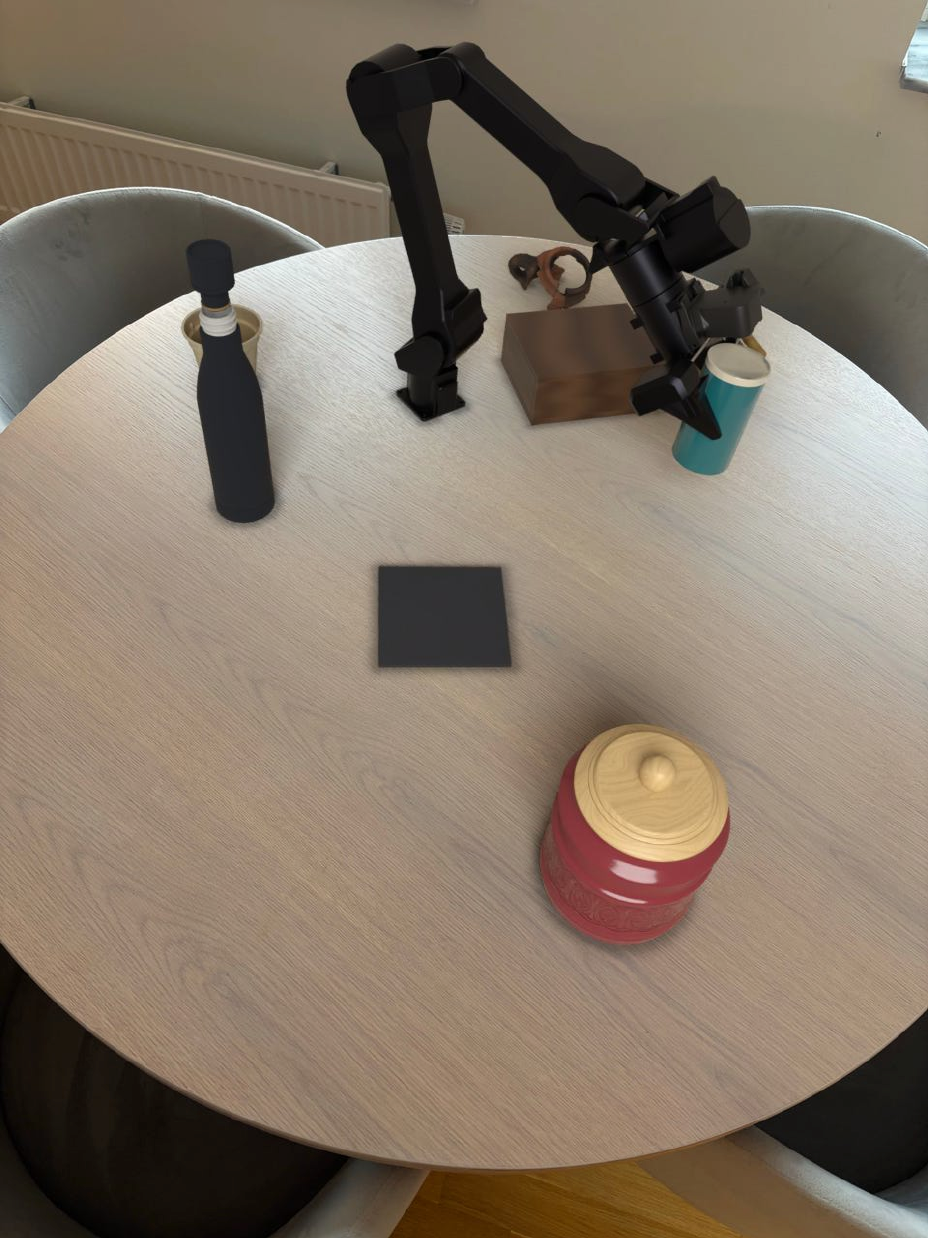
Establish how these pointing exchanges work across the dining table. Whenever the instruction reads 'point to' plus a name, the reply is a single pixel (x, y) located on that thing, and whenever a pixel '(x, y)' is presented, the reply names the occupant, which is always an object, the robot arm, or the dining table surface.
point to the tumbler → (723, 407)
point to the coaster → (442, 617)
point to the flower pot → (248, 326)
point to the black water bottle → (229, 393)
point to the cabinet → (575, 361)
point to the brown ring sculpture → (551, 275)
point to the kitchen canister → (633, 833)
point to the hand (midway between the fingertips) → (729, 421)
